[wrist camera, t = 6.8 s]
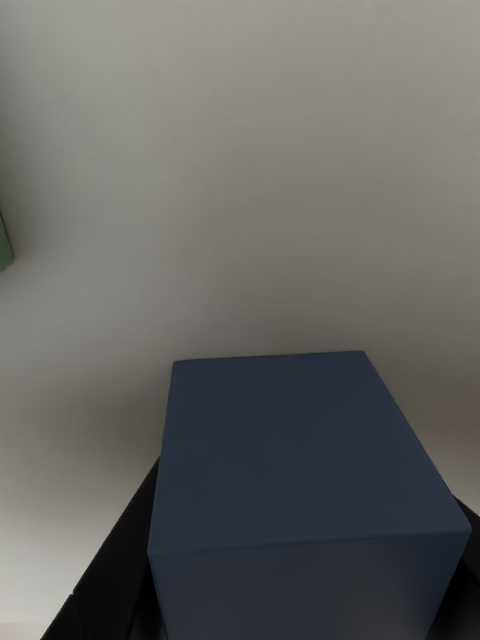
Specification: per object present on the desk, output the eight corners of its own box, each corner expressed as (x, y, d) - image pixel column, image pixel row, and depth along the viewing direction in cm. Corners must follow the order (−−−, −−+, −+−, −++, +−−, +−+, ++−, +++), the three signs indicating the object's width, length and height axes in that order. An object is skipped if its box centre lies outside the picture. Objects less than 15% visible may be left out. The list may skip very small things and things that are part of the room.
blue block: (344, 479, 12) (413, 674, 8) (188, 490, 11) (177, 697, 7) (364, 349, 9) (476, 528, 5) (172, 359, 9) (145, 554, 5)
